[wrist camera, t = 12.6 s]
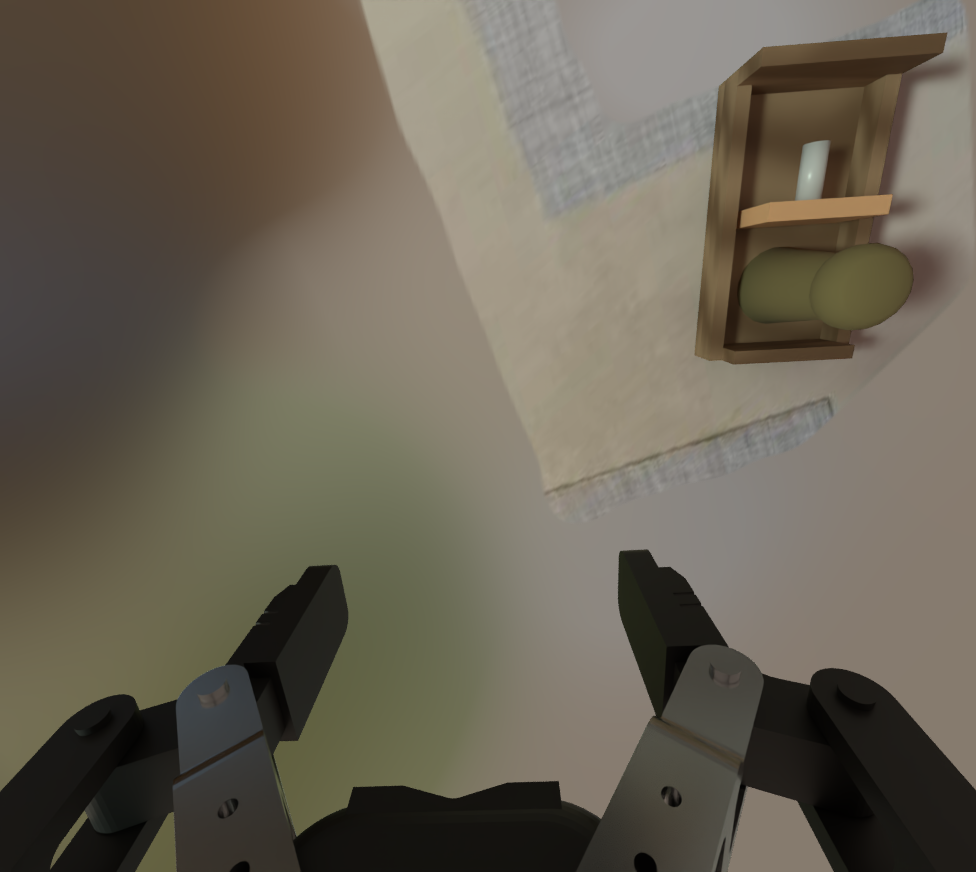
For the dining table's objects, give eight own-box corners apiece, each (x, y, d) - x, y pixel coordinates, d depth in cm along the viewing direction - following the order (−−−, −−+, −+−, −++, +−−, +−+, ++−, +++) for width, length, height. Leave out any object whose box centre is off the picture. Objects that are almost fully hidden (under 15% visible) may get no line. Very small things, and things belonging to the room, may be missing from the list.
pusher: (739, 157, 34) (778, 137, 29) (849, 149, 34) (906, 128, 29) (732, 229, 36) (767, 221, 31) (836, 222, 35) (888, 214, 31)
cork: (812, 238, 36) (939, 221, 26) (812, 314, 38) (931, 327, 28) (734, 256, 37) (828, 247, 26) (738, 331, 39) (827, 349, 28)
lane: (718, 86, 34) (763, 47, 28) (871, 74, 33) (947, 32, 28) (694, 355, 40) (726, 367, 35) (821, 348, 40) (875, 359, 34)
